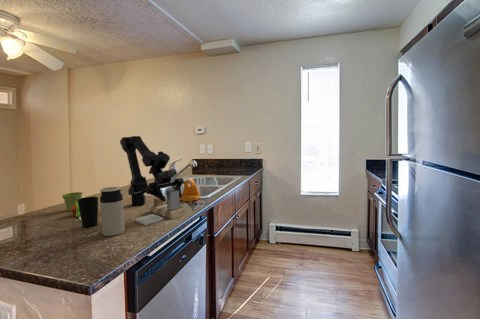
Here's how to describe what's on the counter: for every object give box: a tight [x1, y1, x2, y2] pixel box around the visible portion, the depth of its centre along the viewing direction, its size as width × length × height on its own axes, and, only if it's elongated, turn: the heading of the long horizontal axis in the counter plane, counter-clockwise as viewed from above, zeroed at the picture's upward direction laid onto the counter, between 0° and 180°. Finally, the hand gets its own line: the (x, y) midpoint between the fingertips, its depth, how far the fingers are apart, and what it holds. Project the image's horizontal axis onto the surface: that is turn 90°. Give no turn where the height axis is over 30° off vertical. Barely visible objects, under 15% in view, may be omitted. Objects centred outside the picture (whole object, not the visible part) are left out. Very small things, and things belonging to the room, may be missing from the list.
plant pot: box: [61, 191, 83, 212], centre depth 138 cm, size 9×9×9 cm
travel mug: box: [99, 186, 126, 237], centre depth 102 cm, size 8×8×18 cm
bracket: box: [179, 178, 201, 202], centre depth 154 cm, size 11×7×12 cm, turn 82°
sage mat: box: [134, 213, 164, 226], centre depth 117 cm, size 9×9×1 cm
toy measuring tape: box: [71, 203, 82, 223], centre depth 125 cm, size 6×20×7 cm, turn 35°
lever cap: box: [165, 189, 181, 211], centre depth 124 cm, size 4×5×9 cm
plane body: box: [149, 197, 186, 220], centre depth 128 cm, size 20×7×6 cm, turn 49°
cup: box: [78, 196, 99, 229], centre depth 111 cm, size 8×8×12 cm
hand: (173, 199), depth 123 cm, fingers open, 9 cm apart
